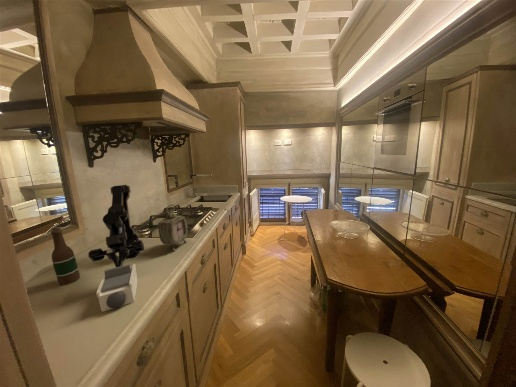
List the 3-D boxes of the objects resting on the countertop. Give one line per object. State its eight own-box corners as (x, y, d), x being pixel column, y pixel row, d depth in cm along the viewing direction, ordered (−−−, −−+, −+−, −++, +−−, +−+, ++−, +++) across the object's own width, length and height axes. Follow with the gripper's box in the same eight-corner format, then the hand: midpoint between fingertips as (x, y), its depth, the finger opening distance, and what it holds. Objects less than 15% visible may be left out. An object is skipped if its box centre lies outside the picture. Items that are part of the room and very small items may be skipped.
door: (107, 279, 83) (105, 269, 82) (131, 272, 86) (129, 263, 86) (101, 292, 75) (99, 282, 74) (129, 284, 78) (127, 275, 78)
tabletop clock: (174, 253, 115) (167, 208, 110) (160, 252, 117) (153, 208, 112) (189, 241, 129) (184, 201, 123) (177, 240, 131) (171, 201, 126)
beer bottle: (62, 278, 97) (48, 229, 92) (83, 273, 100) (71, 225, 95) (54, 288, 90) (39, 235, 85) (77, 282, 93) (63, 231, 88)
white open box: (109, 287, 88) (106, 270, 87) (138, 279, 93) (135, 263, 91) (100, 314, 73) (95, 295, 71) (134, 303, 77) (130, 285, 76)
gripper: (84, 231, 82) (81, 271, 74) (138, 222, 89) (141, 257, 82) (93, 243, 91) (92, 279, 83) (142, 233, 98) (146, 266, 91)
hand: (118, 270), depth 84 cm, fingers closed, pressing on door
